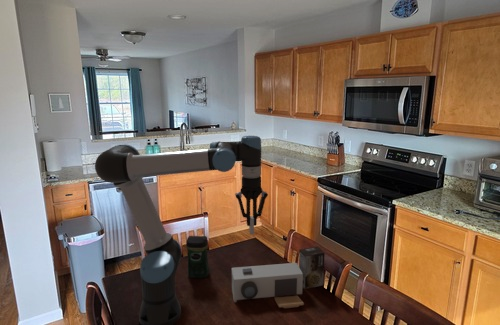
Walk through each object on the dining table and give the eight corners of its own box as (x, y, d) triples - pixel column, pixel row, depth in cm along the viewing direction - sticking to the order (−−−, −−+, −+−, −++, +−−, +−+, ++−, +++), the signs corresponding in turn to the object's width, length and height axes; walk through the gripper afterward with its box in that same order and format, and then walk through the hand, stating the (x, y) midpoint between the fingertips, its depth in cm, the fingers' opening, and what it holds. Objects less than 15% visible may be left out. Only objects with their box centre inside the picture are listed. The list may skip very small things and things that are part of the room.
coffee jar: (210, 270, 156) (209, 233, 152) (207, 279, 148) (206, 241, 144) (190, 269, 157) (188, 232, 153) (185, 278, 149) (184, 240, 145)
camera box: (234, 306, 130) (234, 280, 128) (231, 289, 141) (231, 265, 138) (303, 299, 134) (304, 274, 132) (295, 283, 145) (296, 260, 143)
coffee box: (316, 279, 148) (317, 245, 145) (323, 287, 142) (325, 252, 139) (297, 283, 145) (298, 248, 142) (304, 291, 139) (305, 255, 136)
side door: (274, 301, 133) (279, 309, 125) (274, 297, 133) (278, 305, 126) (297, 298, 135) (303, 306, 127) (297, 295, 135) (303, 302, 127)
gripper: (235, 179, 124) (236, 238, 129) (269, 177, 126) (269, 235, 131) (233, 174, 131) (234, 230, 136) (266, 173, 133) (265, 228, 138)
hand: (251, 232), depth 134 cm, fingers closed
